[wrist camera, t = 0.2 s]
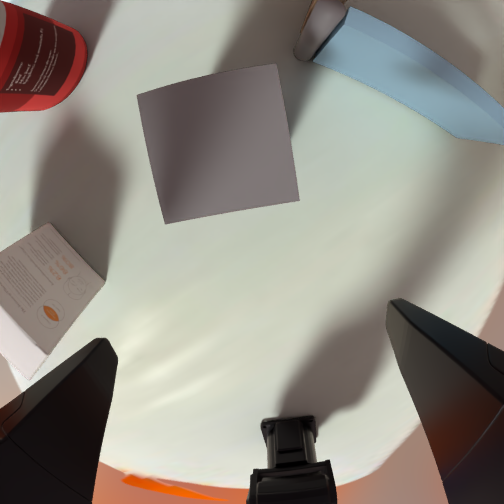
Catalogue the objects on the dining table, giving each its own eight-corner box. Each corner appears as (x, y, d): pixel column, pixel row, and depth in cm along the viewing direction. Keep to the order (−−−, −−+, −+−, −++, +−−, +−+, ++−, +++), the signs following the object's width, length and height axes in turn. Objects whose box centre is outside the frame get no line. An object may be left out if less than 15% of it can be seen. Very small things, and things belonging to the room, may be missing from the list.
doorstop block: (277, 167, 21) (299, 200, 10) (208, 179, 21) (164, 224, 11) (265, 99, 19) (276, 63, 9) (195, 113, 19) (136, 95, 9)
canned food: (16, 65, 16) (-69, 60, 6) (79, 12, 15) (-3, -26, 5) (34, 128, 19) (-61, 144, 9) (101, 76, 18) (4, 54, 8)
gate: (291, 56, 17) (312, 13, 10) (296, 41, 17) (320, -8, 9) (453, 138, 19) (524, 150, 11) (458, 124, 18) (528, 131, 11)
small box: (29, 257, 24) (-38, 310, 14) (50, 219, 22) (-30, 268, 12) (81, 313, 26) (28, 383, 16) (108, 282, 24) (48, 357, 15)
